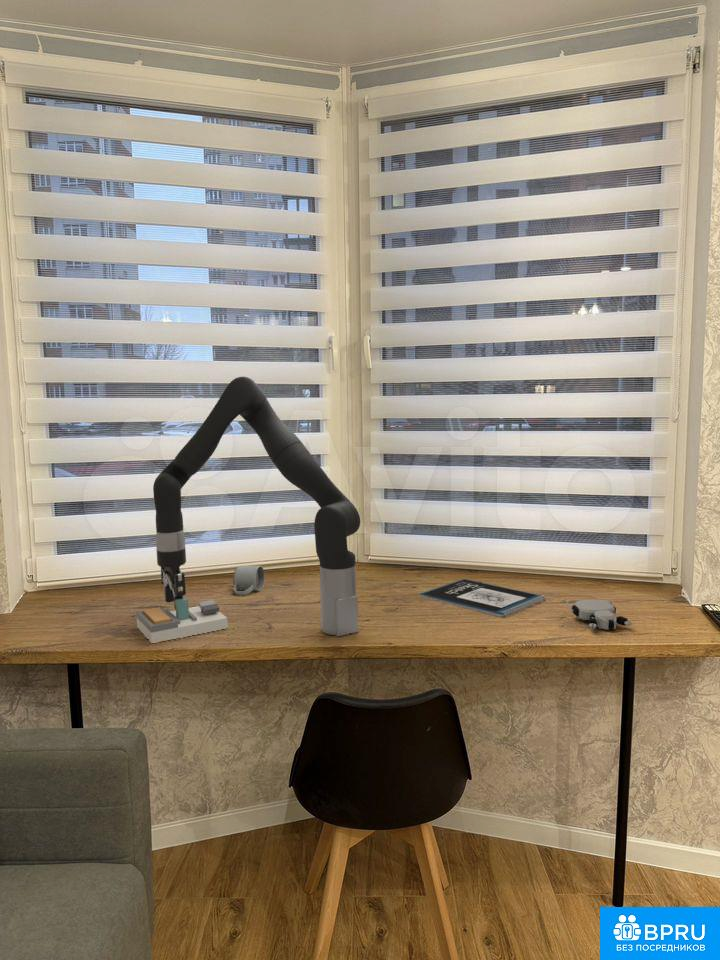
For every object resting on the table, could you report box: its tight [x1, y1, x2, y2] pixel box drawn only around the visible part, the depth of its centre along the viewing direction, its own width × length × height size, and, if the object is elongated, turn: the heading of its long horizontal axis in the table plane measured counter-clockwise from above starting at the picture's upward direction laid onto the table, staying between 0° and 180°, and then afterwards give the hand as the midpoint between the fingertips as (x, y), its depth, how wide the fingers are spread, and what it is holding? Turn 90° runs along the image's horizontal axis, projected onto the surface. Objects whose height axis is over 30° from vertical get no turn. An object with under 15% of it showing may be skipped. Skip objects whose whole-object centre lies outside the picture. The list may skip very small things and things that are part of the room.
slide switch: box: [175, 597, 189, 620], centre depth 191 cm, size 2×3×5 cm
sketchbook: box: [419, 578, 547, 619], centre depth 214 cm, size 22×30×2 cm
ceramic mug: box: [232, 565, 266, 597], centre depth 225 cm, size 11×8×8 cm
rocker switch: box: [198, 599, 220, 614], centre depth 196 cm, size 5×4×2 cm
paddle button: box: [142, 606, 171, 625], centre depth 189 cm, size 11×4×2 cm, turn 31°
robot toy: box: [566, 598, 633, 630], centre depth 191 cm, size 12×4×15 cm
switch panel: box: [136, 605, 229, 644], centre depth 192 cm, size 14×20×5 cm
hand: (174, 605), depth 198 cm, fingers open, 8 cm apart
